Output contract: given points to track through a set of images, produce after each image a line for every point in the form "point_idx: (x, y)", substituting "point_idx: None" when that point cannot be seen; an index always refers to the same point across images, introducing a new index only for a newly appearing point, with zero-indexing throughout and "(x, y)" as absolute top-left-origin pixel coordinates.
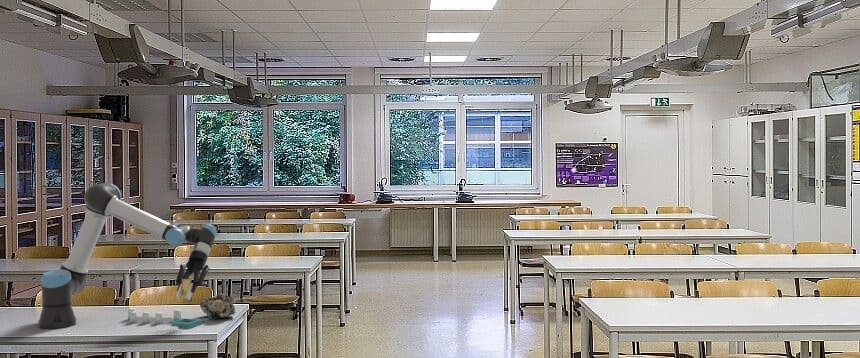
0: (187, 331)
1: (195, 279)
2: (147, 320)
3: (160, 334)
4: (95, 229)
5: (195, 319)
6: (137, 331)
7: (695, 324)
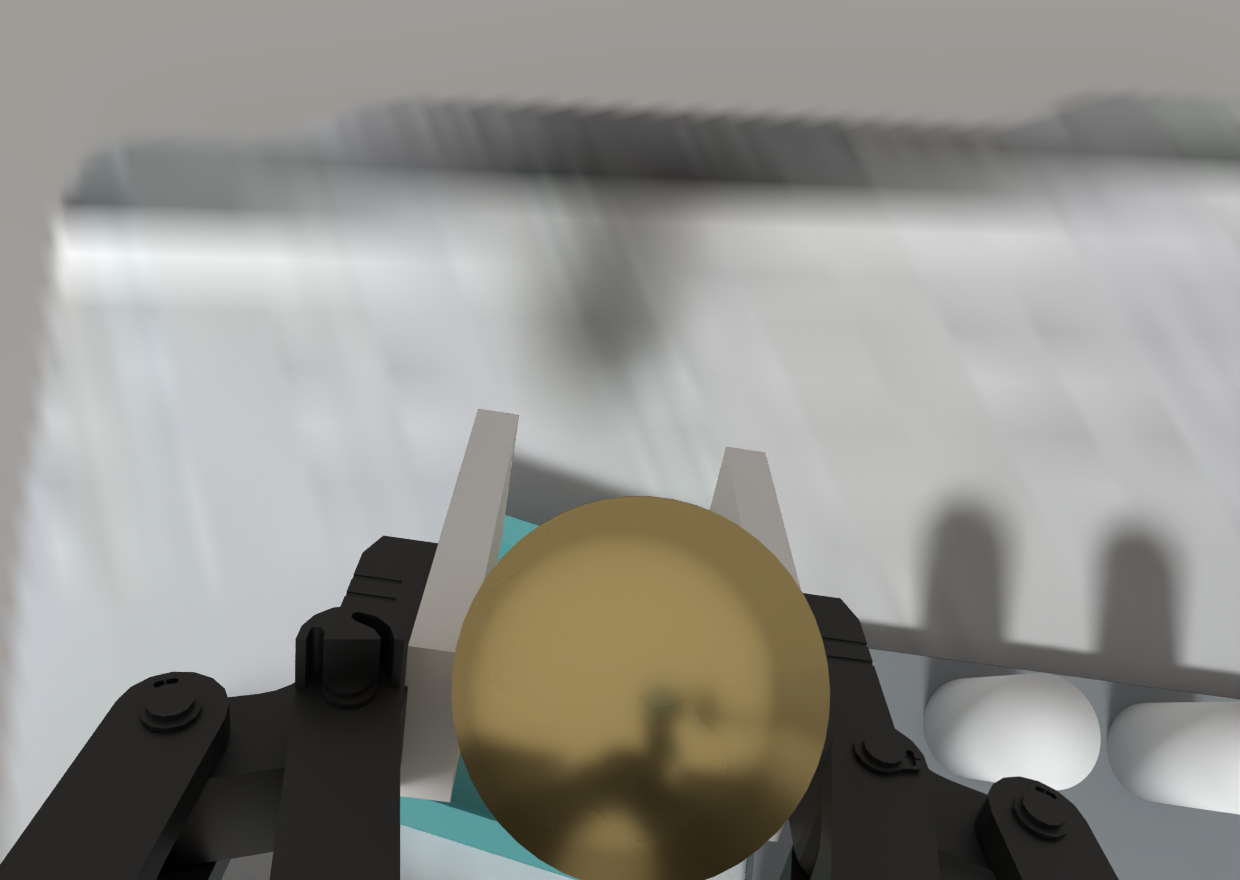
0: (440, 347)
1: (305, 813)
2: (1144, 714)
3: (707, 204)
4: None
5: (465, 810)
6: (1038, 360)
7: None
